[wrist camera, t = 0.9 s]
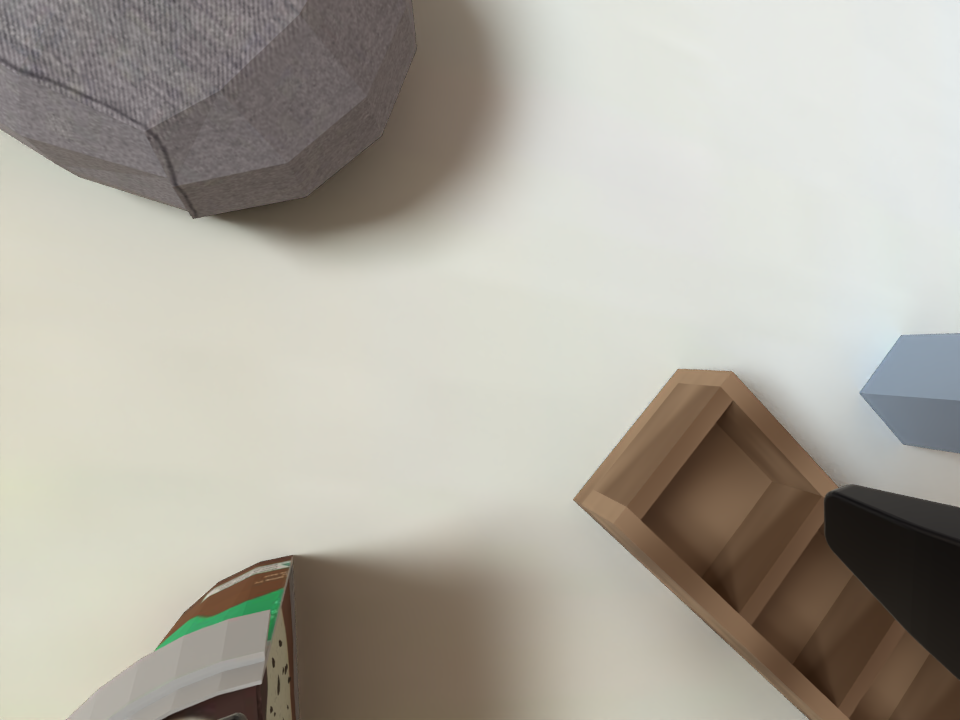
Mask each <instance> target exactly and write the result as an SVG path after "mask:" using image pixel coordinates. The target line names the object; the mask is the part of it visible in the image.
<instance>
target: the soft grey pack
mask: <svg viewBox="0 0 960 720" xmlns="http://www.w3.org/2000/svg"><path fill="white" fill-rule="evenodd" d="M416 49H417V47H416V37H415V27H414V17H413V8H412V0H0V129H1V130H3V131H4V132H6V133H8V134H9V135H11V136H12V137H14V138H15V139H17V140H19V141H20V142H22V143H23V144H25V145H27V146H28V147H30V148H31V149H33V150H35V151H36V152H38V153H39V154H41V155H43V156H44V157H46V158H47V159H49V160H51V161H52V162H54V163H55V164H57V165H59V166H60V167H62V168H64V169H66V170H68V171H69V172H71V173H73V174H75V175H77V176H78V177H81V178H84V179H87V180H90V181H93V182H97V183H100V184H103V185H106V186H109V187H113V188H116V189H119V190H122V191H125V192H129V193H132V194H135V195H138V196H141V197H145V198H148V199H151V200H154V201H158V202H161V203H164V204H167V205H170V206H174V207H177V208H180V209H183V210H186V211H188V212H189V213H190V215H191V216H192V218H193V219H194V218H199V217H204V216H209V215H215V214H220V213H225V212H230V211H235V210H241V209H246V208H251V207H256V206H262V205H267V204H272V203H277V202H283V201H288V200H293V199H297V198H303V197H307V196H308V195H309V194H310V193H312V192H313V191H314V190H315V189H317V188H318V187H319V186H320V185H322V184H323V183H324V182H325V181H326V180H328V179H329V178H330V177H331V176H333V175H334V174H335V173H336V172H338V171H339V170H340V169H341V168H342V167H344V166H345V165H346V164H347V163H349V162H350V161H351V160H352V159H354V158H355V157H356V156H357V155H359V154H360V153H361V152H362V151H363V150H365V149H366V148H367V147H368V146H370V145H371V144H372V143H373V142H375V141H376V140H377V139H378V138H379V137H381V136H382V134H383V131H384V129H385V126H386V124H387V121H388V119H389V116H390V114H391V111H392V109H393V106H394V104H395V101H396V99H397V97H398V94H399V92H400V89H401V87H402V84H403V82H404V79H405V77H406V74H407V72H408V69H409V67H410V64H411V62H412V59H413V57H414V54H415V52H416Z"/></svg>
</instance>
